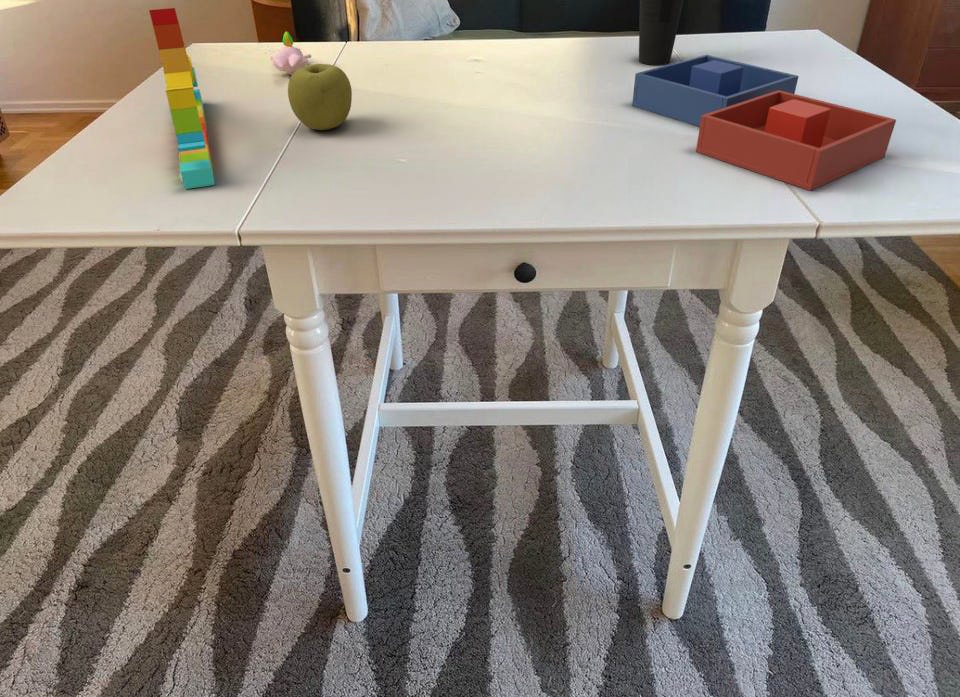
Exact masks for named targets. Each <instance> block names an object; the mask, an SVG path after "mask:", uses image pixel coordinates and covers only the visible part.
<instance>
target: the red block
mask: <svg viewBox="0 0 960 697" xmlns="http://www.w3.org/2000/svg"><path fill="white" fill-rule="evenodd" d="M830 111H831V109H830V108H826V107H822V106H819V105H815V104H811V103H807V102H803V101H799V100H795V99H793V100H790V101H787V102H784V103H781V104H778V105H775V106H772V107H770V108H769V112H768V117H767V122H766V126H765V131H764V132H766V133H770V134H773V135H777V136H780V137H783V138H787V139H790V140H793V141H797V142H800V143H803V144H807V145H810V146H814V147H817V148H821V146H822V142H823V138H824V134H825V130H826V127H827V123H828V119H829V115H830Z"/></svg>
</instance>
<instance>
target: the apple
mask: <svg viewBox="0 0 960 697" xmlns="http://www.w3.org/2000/svg"><path fill="white" fill-rule="evenodd" d="M352 91H353V90H352V85H351V82H350V79H349V78H348V76H347V74H346V73H345V72H344V71H343V70H342V69H341V68H340V67H338V66H336V65H333V64H327V63H313V64H307V65H306V66H304V67H302V68H299V69H298V70H296V71H295V72H294V73H293V74H292V75H291V76H290V78H289V80H288V84H287V96H288V102H289V105H290V108H291V109H292V112H293V114H294V115H295V116H296V118H297V119H298V120H299V122H301V123H302V125H304V126H305V127H307V128H309V129H312V130H316V131H327V130H328V131H329V130H331V129H334V128H337V127H338V126H340V125H341V124H343V122H345V121H346V120H347V118H348V117H349V114H350V112H351V107H352V100H353V99H352V97H353V92H352Z"/></svg>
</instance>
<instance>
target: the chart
mask: <svg viewBox="0 0 960 697" xmlns="http://www.w3.org/2000/svg"><path fill="white" fill-rule="evenodd" d="M148 11H149V16H150V19H151V23H152V27H153V28H152V29H153V32H154V36H155V39H156V44H157V49H158V53H159V57H160V62H161V65H162V70H163V74H164V79H165V86H166V89H165V93H166V97H167V102H168V107H169V111H170V114H171V119H172V124H173V128H174V131H175V136H176V140H177V145H178V146H177V151H178V152H177V153H178V162H179V163H178V168H179V175H178V176H179V180H180V182H181V183H183V187H184V190H188V189H196V188H202V187H210V186H215V185H216V184H215V177H214V176H215V175H214V170H213V163H212V157H211V150H210V144H209V138H208V137H209V135H208V129H207V124H206V123H207V122H206V117H205V109H204V103H203V99H202V94H201V91H200V88H198V86H199V84H198V78H197V74H196V69H195V67H194V66H193V65H192V60H191V57H190V56H189V54H188V52H187V50H186V46H185V42H184V38H183V34H182V30H181V27H180V22H179V18H178V14H177V11H176V8H175V7H170V8H158V9H157V8H156V9H149V10H148ZM194 88H196V89H194Z"/></svg>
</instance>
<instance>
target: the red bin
mask: <svg viewBox="0 0 960 697" xmlns="http://www.w3.org/2000/svg"><path fill="white" fill-rule="evenodd" d="M793 99H795V100H799V101H803V102H807V103H811V104H815V105H819V106H822V107H826V108H830V109H831V111H830V115H829V119H828V123H827V127H826V130H825V134H824V138H823V142H822V146H821V148H817V147H814V146H810V145H807V144H803V143H800V142H797V141H793V140H790V139H787V138H783V137H780V136H777V135H773V134H770V133H766V132H764V131H765V126H766V122H767V117H768V112H769V108H770V107H772V106H775V105H778V104H781V103H784V102H787V101H790V100H793ZM896 123H897V119H896V118H892V117H888V116H884V115H879V114H876V113H872V112H869V111H863V110H859V109H856V108H853V107H848V106H844V105H841V104H836V103H831V102H828V101H825V100H819V99H816V98H812V97H807V96H804V95H800V94H796V93H795V94H792V93H788V92H784V91H780V90H777V91H774V92H771V93H768V94H765V95H762V96H759V97H756V98H753V99H750V100H747V101H744V102H741V103H738V104H735V105H732V106H729V107H726V108H723V109H719V110H716V111H713V112H710V113H707V114H704V115H702V116H701V122H700V127H699V130H698V136H697V142H696V143H697V144H696V148H695V152H696V153H699V154H702V155H704V156H708V157H709V158H710V157H711V158H712V159H713V158H714V159H716V160H719V161H722V162H725V163H728V164H731V165H734V166H737V167H740V168H743V169H745V170H749V171H752V172H754V173H758V174H760V175H763V176H766V177H769V178H772V179H775V180H777V181H780V182H784V183H786V184H789V185H792V186H795V187H798V188H801V189H804V190H807V191H810V192H811V191H814V190H816V189H819V188H820V187H822V186H825V185H826V184H828V183H831V182H833V181H835V180H838V179H840V178H841V177H844V176H846V175H848V174H850V173H853V172H855V171H857V170H859V169H861V168H864V167H866V166H868V165H870V164H872V163H875V162H877V161H879V160H880V159H883V158H885V157H886V154H887V150H888V147H889V144H890V140H891V138H892V135H893V132H894V128H895V125H896Z"/></svg>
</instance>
